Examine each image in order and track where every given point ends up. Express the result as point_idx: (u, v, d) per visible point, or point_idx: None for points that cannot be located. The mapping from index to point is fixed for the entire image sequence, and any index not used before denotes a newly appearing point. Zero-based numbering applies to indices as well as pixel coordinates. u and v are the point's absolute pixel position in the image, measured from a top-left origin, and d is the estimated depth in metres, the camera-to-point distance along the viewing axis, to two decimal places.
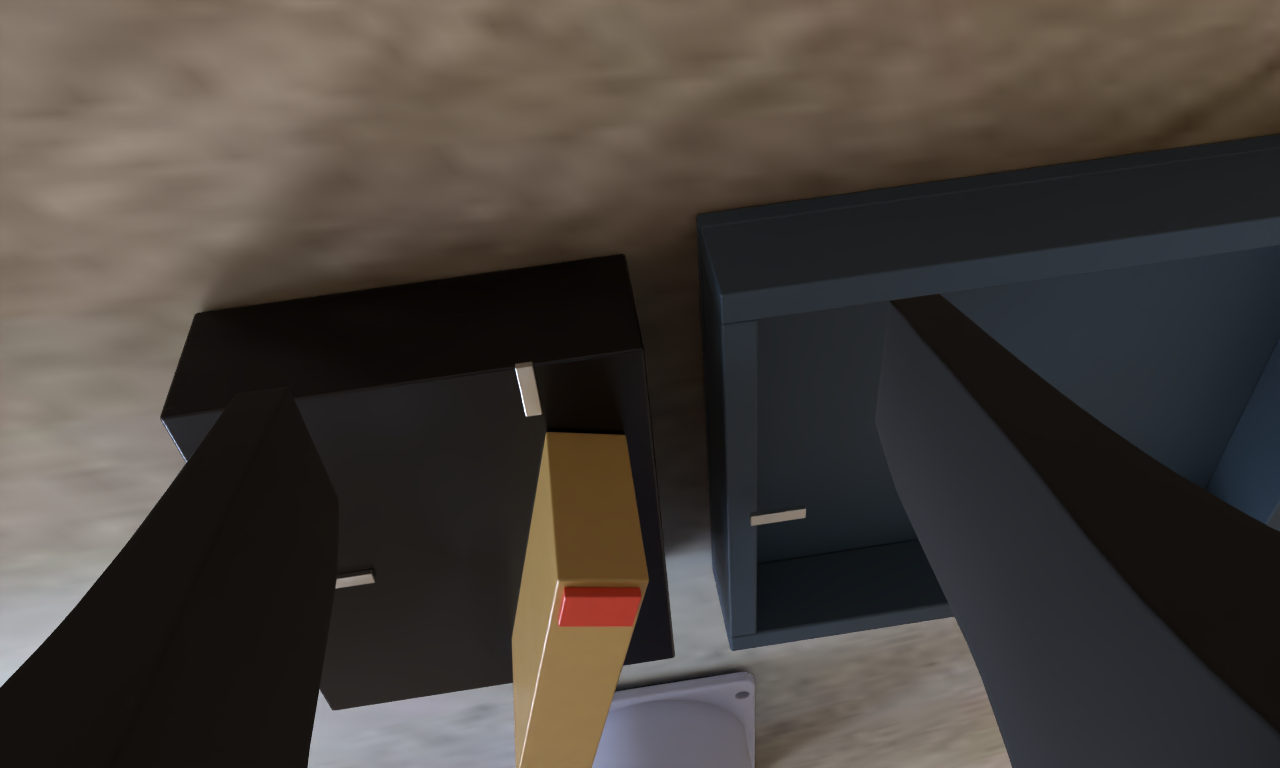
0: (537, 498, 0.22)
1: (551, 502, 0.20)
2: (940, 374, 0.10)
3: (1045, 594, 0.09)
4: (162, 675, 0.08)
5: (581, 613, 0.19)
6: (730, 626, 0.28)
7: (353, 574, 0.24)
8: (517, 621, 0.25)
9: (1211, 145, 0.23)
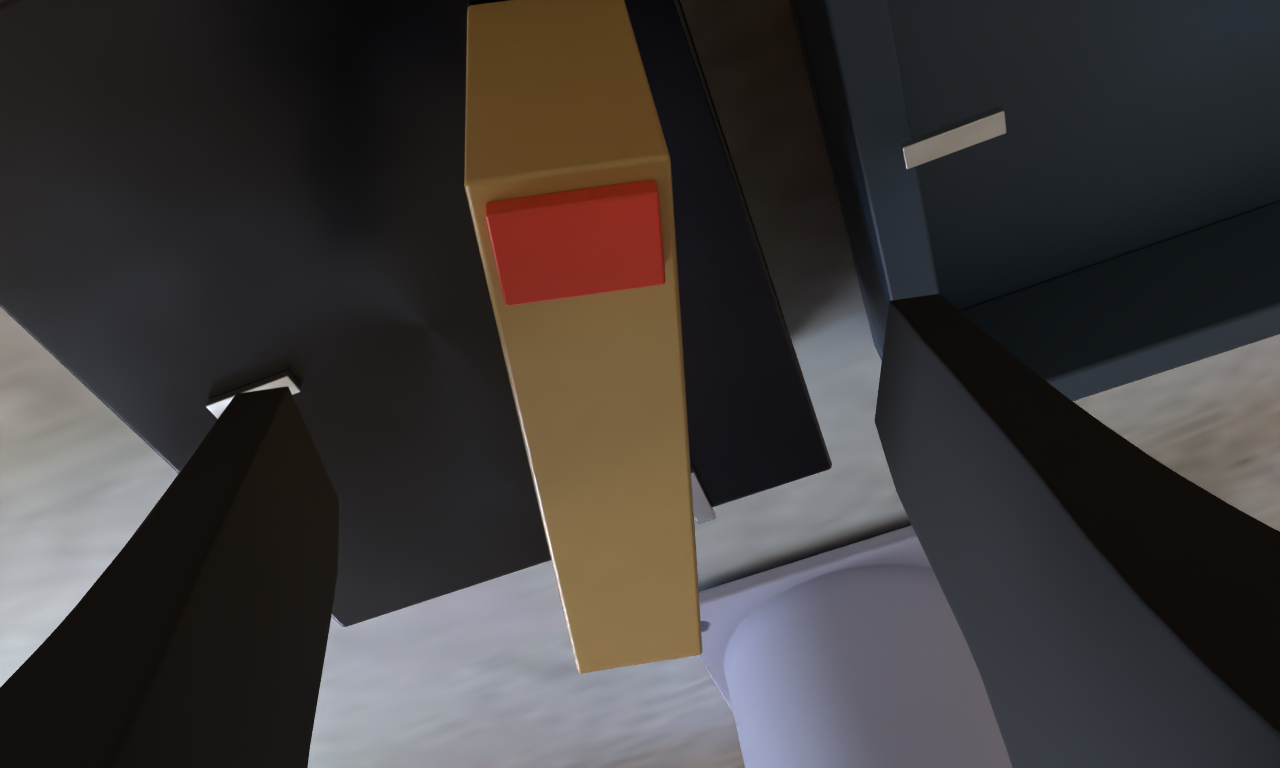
0: None
1: (467, 85, 0.10)
2: (941, 373, 0.10)
3: (1045, 594, 0.09)
4: (162, 675, 0.08)
5: (539, 259, 0.09)
6: None
7: (264, 385, 0.15)
8: None
9: None
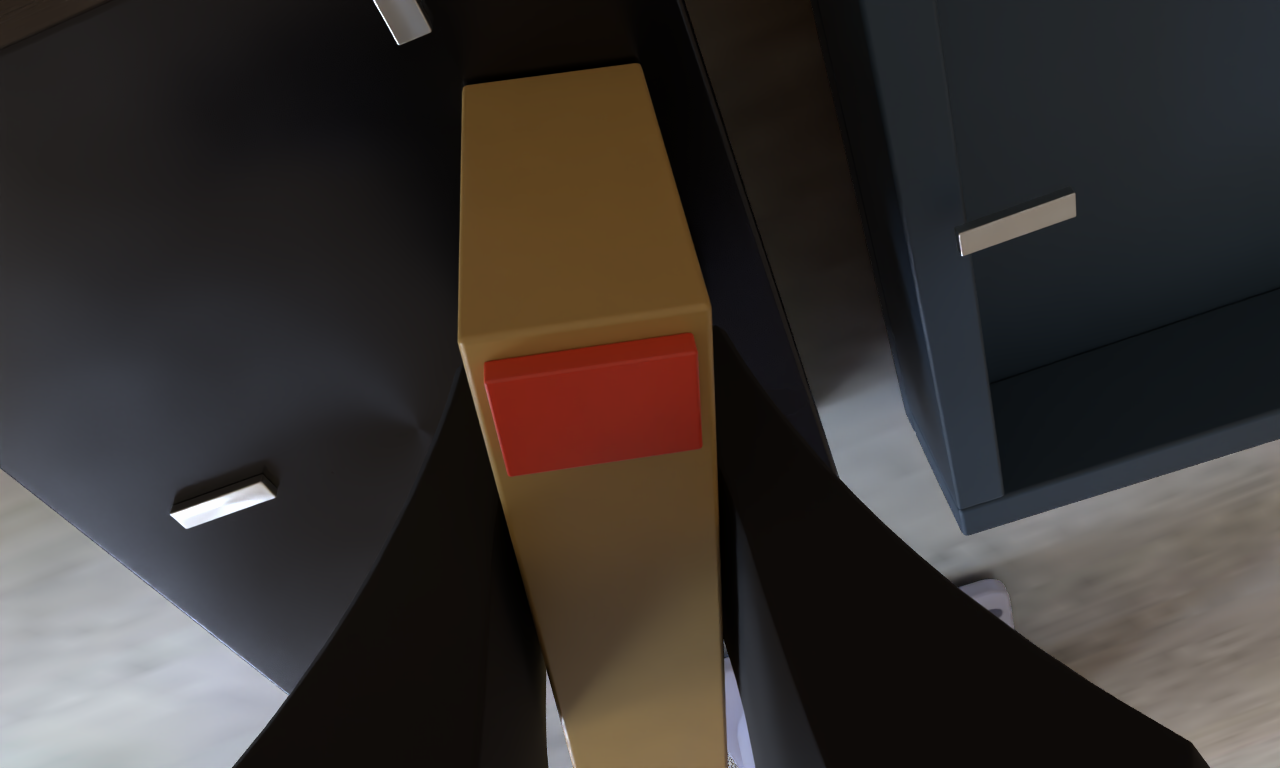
0: None
1: (461, 196, 0.08)
2: None
3: (755, 639, 0.09)
4: (490, 624, 0.08)
5: (550, 428, 0.07)
6: (955, 490, 0.16)
7: (235, 490, 0.13)
8: None
9: None
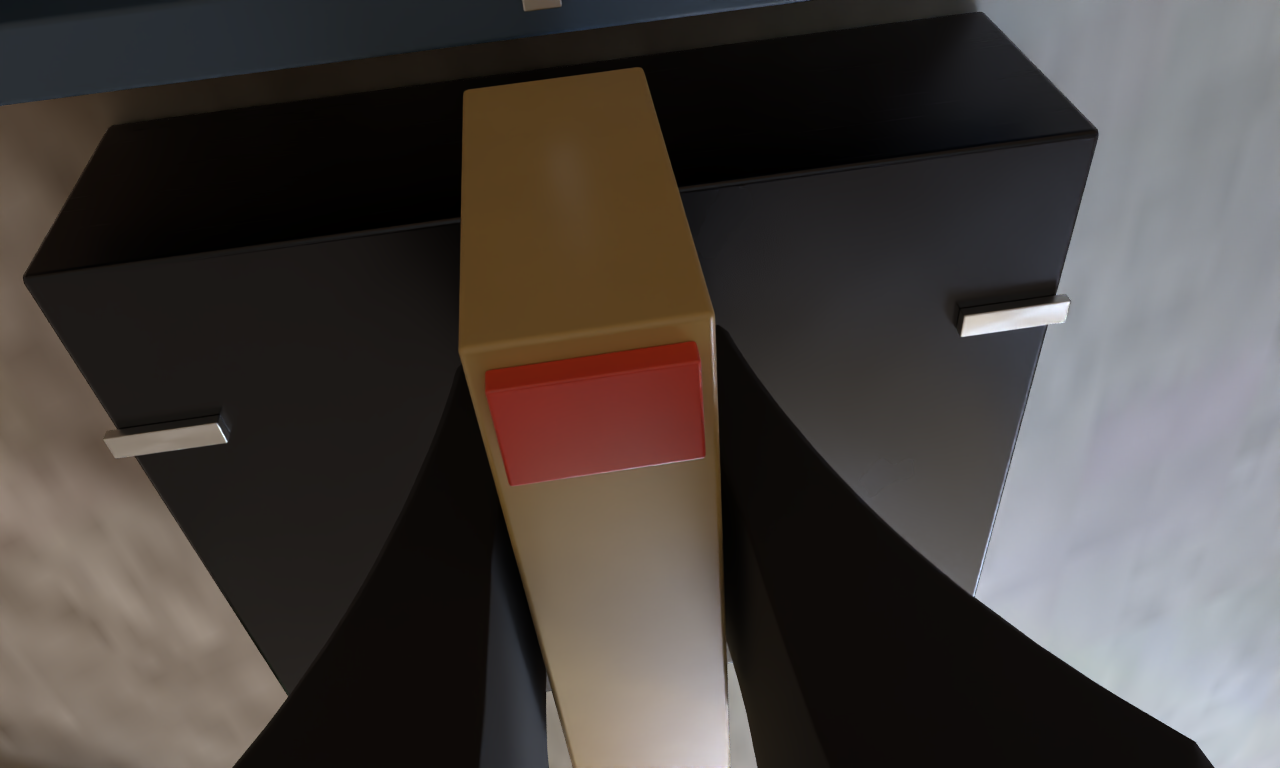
0: None
1: (462, 202, 0.08)
2: None
3: (757, 638, 0.09)
4: (491, 625, 0.08)
5: (552, 436, 0.07)
6: None
7: None
8: None
9: None
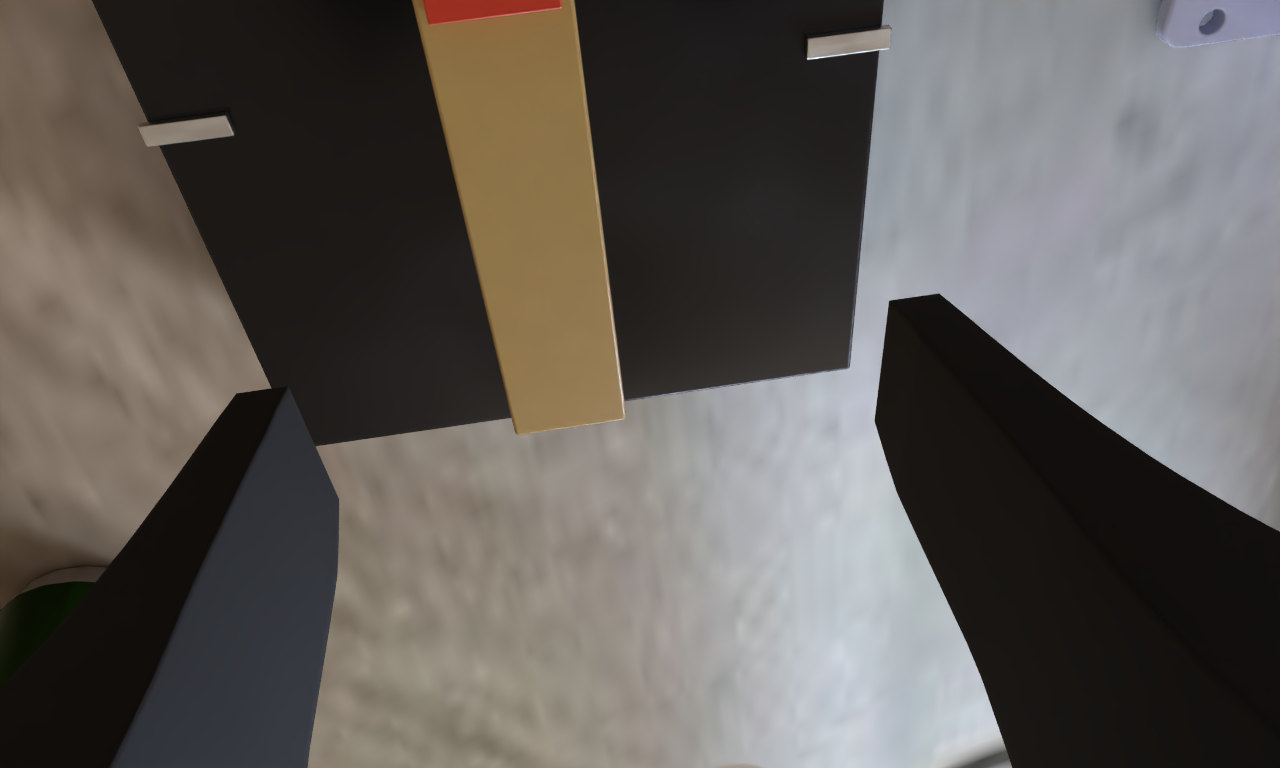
0: None
1: None
2: (940, 374, 0.10)
3: (1045, 594, 0.09)
4: (162, 675, 0.08)
5: None
6: None
7: None
8: None
9: None
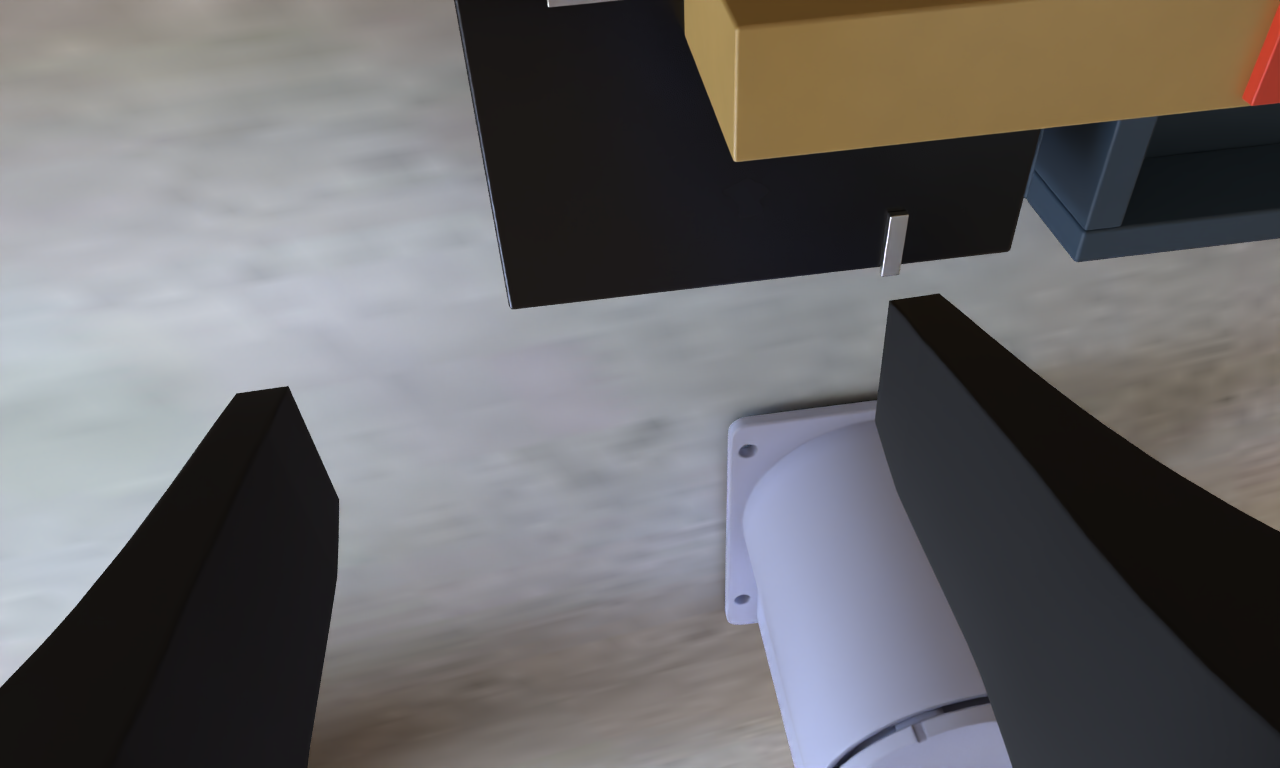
0: None
1: None
2: (941, 374, 0.10)
3: (1045, 594, 0.09)
4: (162, 675, 0.08)
5: None
6: (1091, 208, 0.19)
7: None
8: None
9: None
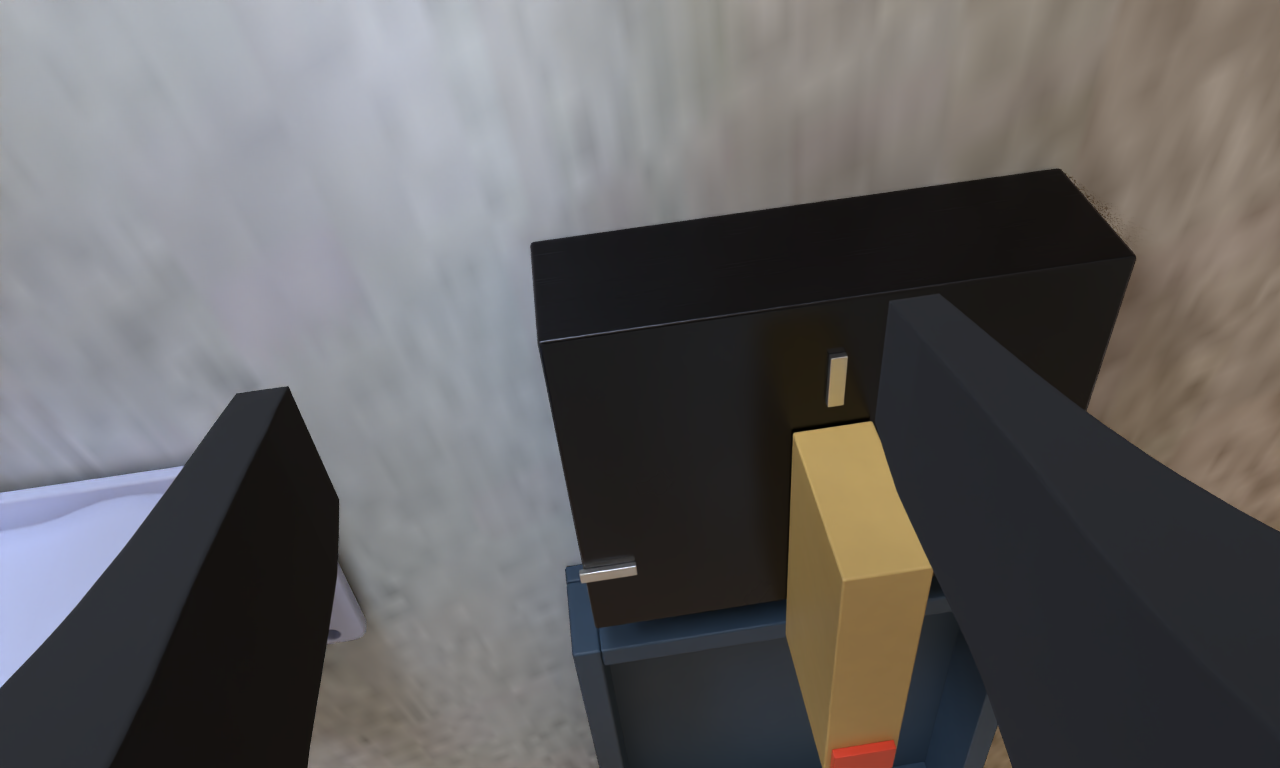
0: None
1: None
2: (941, 373, 0.10)
3: (1045, 594, 0.09)
4: (162, 675, 0.08)
5: (878, 760, 0.23)
6: (619, 647, 0.27)
7: (838, 384, 0.21)
8: None
9: None
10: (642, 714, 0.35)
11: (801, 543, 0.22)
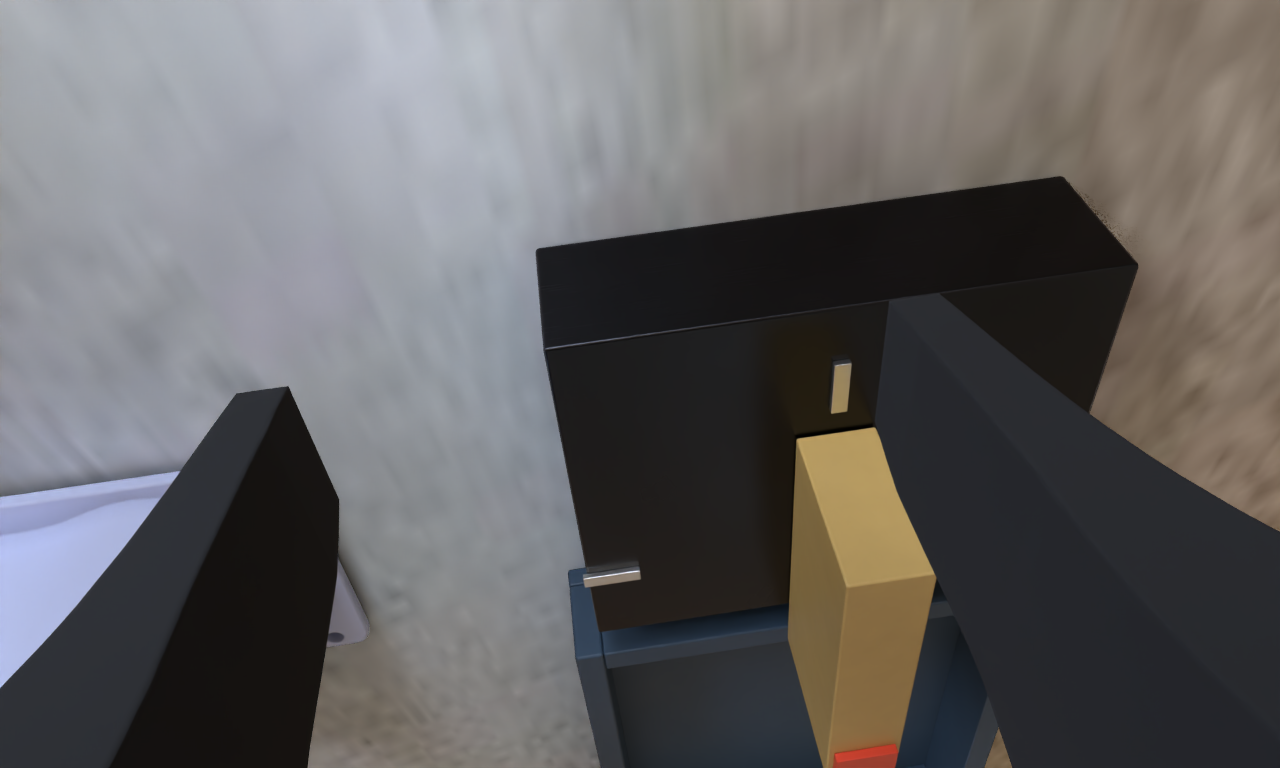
0: None
1: None
2: (940, 374, 0.10)
3: (1045, 594, 0.09)
4: (162, 675, 0.08)
5: (880, 764, 0.23)
6: (622, 651, 0.27)
7: (841, 391, 0.21)
8: None
9: None
10: (643, 717, 0.35)
11: (804, 548, 0.22)
